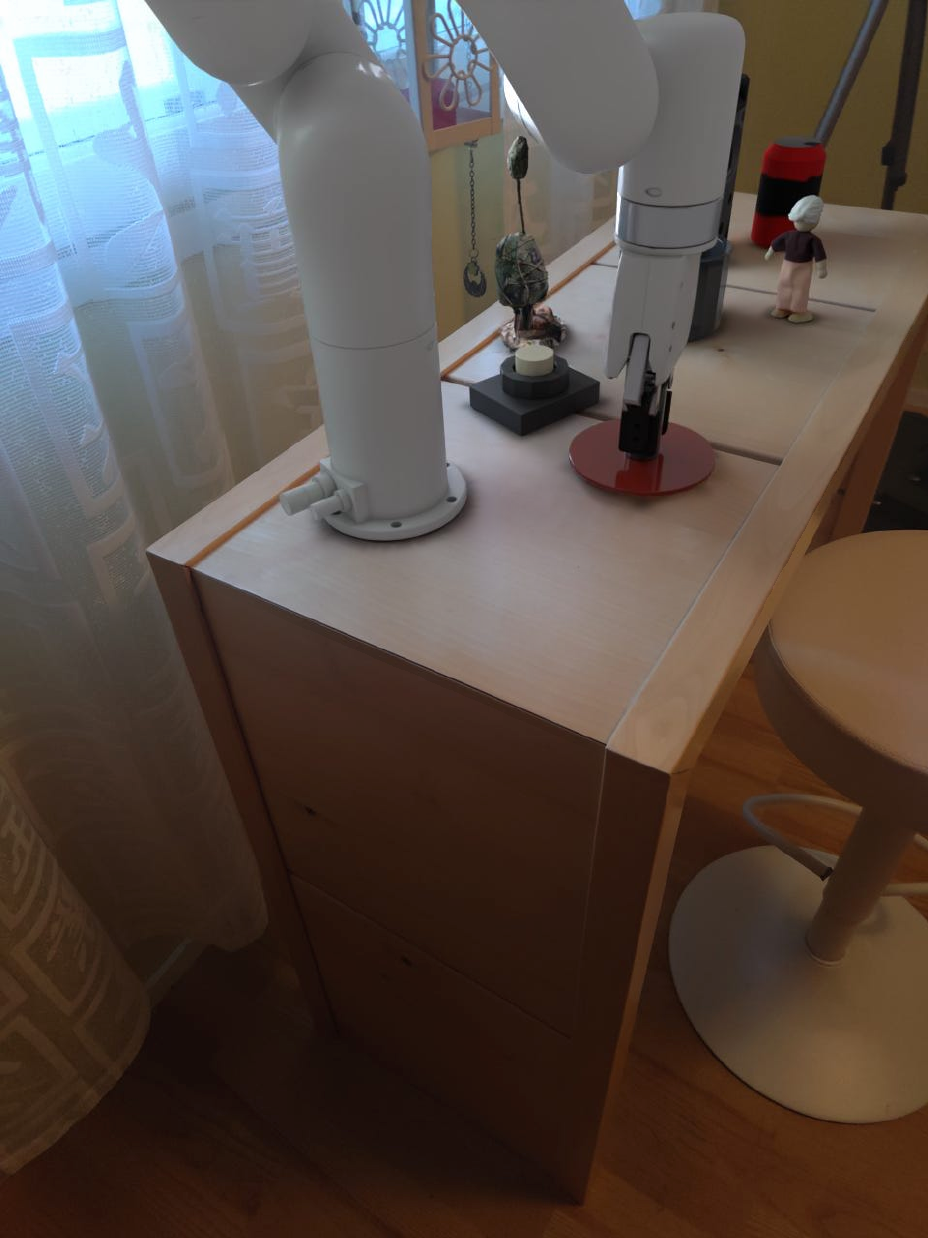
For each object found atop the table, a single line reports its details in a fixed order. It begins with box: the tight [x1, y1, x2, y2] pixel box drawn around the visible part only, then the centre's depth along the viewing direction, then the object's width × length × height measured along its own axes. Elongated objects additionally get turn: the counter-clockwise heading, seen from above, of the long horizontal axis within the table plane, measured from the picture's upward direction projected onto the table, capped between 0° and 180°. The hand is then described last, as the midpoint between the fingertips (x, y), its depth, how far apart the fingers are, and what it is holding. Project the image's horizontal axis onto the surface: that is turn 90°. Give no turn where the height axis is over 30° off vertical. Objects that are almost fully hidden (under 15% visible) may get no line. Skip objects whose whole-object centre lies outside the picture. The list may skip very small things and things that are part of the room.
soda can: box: [750, 135, 828, 249], centre depth 115 cm, size 8×8×12 cm
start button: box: [515, 345, 555, 377], centre depth 85 cm, size 4×4×2 cm
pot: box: [618, 234, 732, 343], centre depth 98 cm, size 12×12×8 cm
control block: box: [468, 353, 601, 437], centre depth 86 cm, size 10×8×4 cm
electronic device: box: [718, 73, 751, 240], centre depth 109 cm, size 9×6×20 cm, turn 148°
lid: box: [568, 382, 717, 498], centre depth 76 cm, size 13×13×8 cm
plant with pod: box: [492, 135, 568, 351], centre depth 92 cm, size 8×11×20 cm
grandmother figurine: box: [764, 195, 829, 324], centre depth 96 cm, size 8×4×13 cm, turn 50°
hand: (642, 439), depth 77 cm, fingers closed on lid, 3 cm apart
